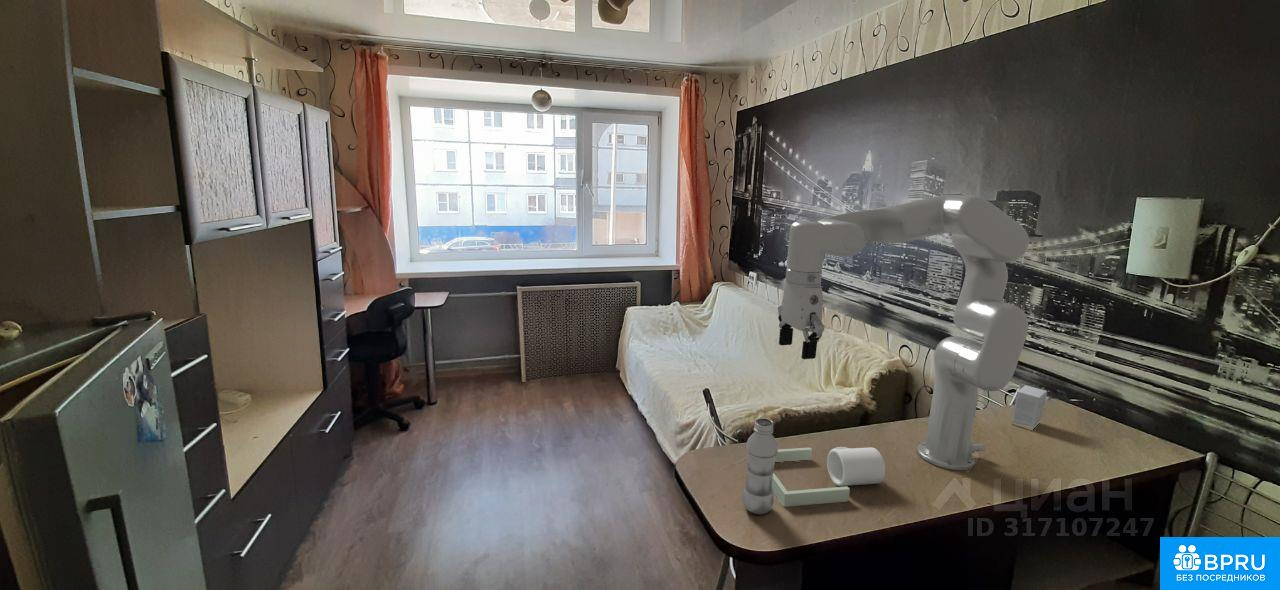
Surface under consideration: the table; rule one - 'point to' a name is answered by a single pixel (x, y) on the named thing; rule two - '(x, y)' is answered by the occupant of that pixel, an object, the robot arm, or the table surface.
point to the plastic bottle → (760, 468)
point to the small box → (1029, 406)
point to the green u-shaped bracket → (805, 495)
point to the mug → (855, 466)
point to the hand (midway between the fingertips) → (796, 351)
